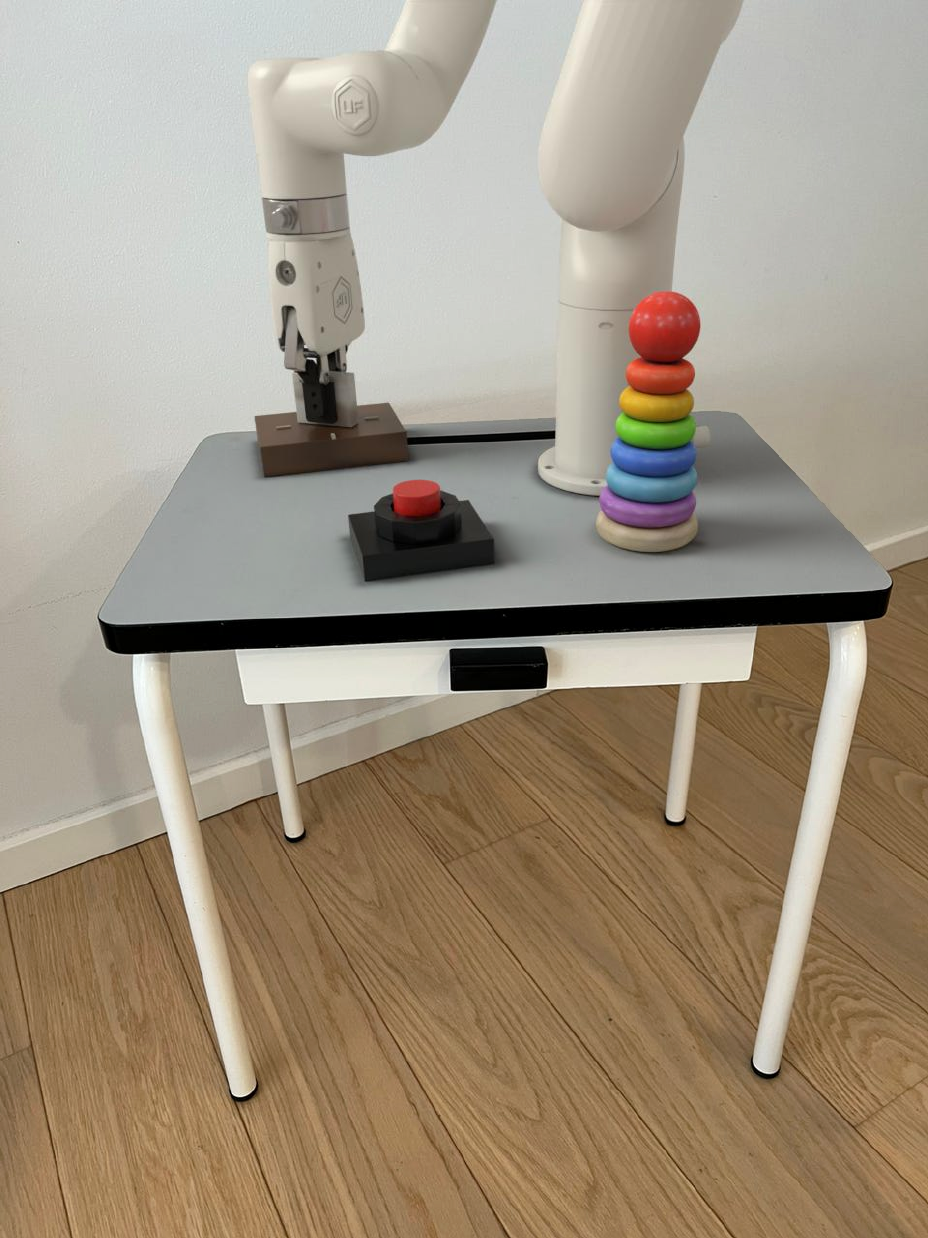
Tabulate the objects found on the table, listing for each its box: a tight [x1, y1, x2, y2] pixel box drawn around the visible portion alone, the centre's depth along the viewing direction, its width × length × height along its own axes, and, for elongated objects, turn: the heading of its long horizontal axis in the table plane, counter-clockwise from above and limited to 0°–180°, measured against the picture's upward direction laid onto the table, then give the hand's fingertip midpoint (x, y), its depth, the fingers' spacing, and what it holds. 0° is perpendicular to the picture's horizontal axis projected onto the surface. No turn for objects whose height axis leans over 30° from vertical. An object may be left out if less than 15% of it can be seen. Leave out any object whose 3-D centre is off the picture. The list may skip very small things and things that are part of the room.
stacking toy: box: [595, 290, 701, 553], centre depth 71 cm, size 8×8×19 cm
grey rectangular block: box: [291, 371, 358, 427], centre depth 93 cm, size 6×2×5 cm, turn 70°
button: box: [392, 479, 441, 516], centre depth 72 cm, size 4×4×2 cm
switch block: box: [347, 489, 495, 583], centre depth 74 cm, size 10×8×4 cm
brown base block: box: [254, 402, 409, 478], centre depth 95 cm, size 14×10×3 cm
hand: (327, 416), depth 94 cm, fingers closed on grey rectangular block
